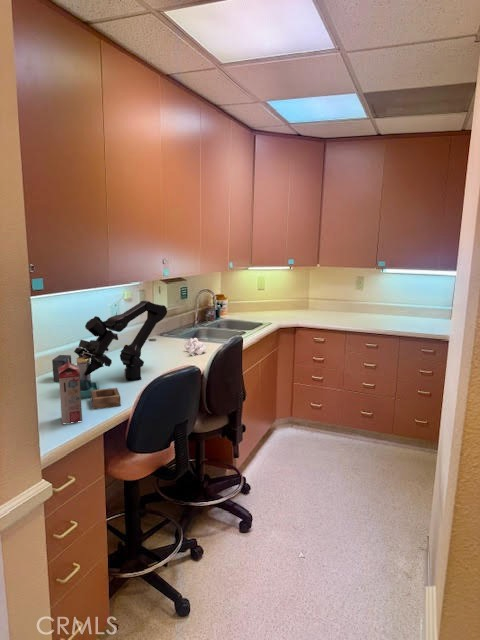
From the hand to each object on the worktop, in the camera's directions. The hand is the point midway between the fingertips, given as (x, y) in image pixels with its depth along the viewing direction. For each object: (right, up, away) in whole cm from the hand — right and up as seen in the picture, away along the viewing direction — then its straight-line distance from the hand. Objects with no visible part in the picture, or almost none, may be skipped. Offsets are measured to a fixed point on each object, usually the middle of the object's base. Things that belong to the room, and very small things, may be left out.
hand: (81, 374), depth 177 cm
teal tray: (+1, -9, +3) cm, 9 cm away
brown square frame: (+12, -11, -6) cm, 17 cm away
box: (-15, -5, +20) cm, 25 cm away
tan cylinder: (+1, -6, +2) cm, 7 cm away
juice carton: (+5, -14, -22) cm, 27 cm away
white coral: (+40, +3, +67) cm, 78 cm away
